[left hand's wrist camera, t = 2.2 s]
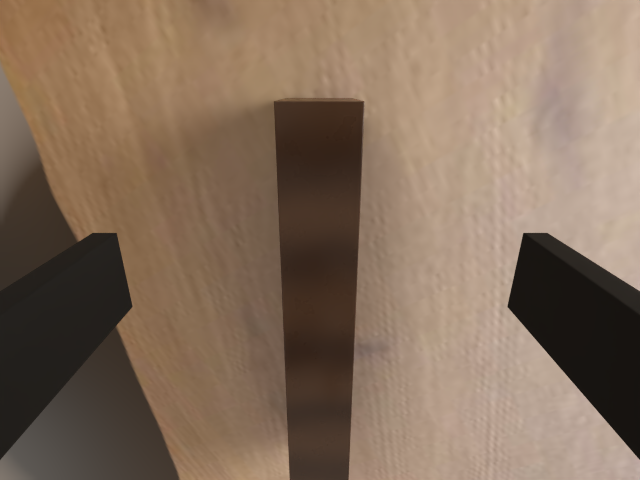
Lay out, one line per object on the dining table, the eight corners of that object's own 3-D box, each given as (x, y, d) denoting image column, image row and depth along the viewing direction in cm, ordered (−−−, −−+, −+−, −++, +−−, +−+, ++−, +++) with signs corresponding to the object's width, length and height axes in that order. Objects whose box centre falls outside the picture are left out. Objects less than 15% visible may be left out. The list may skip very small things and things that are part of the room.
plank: (285, 98, 25) (274, 101, 19) (353, 98, 25) (364, 101, 19) (296, 429, 36) (290, 503, 30) (342, 429, 36) (347, 503, 30)
